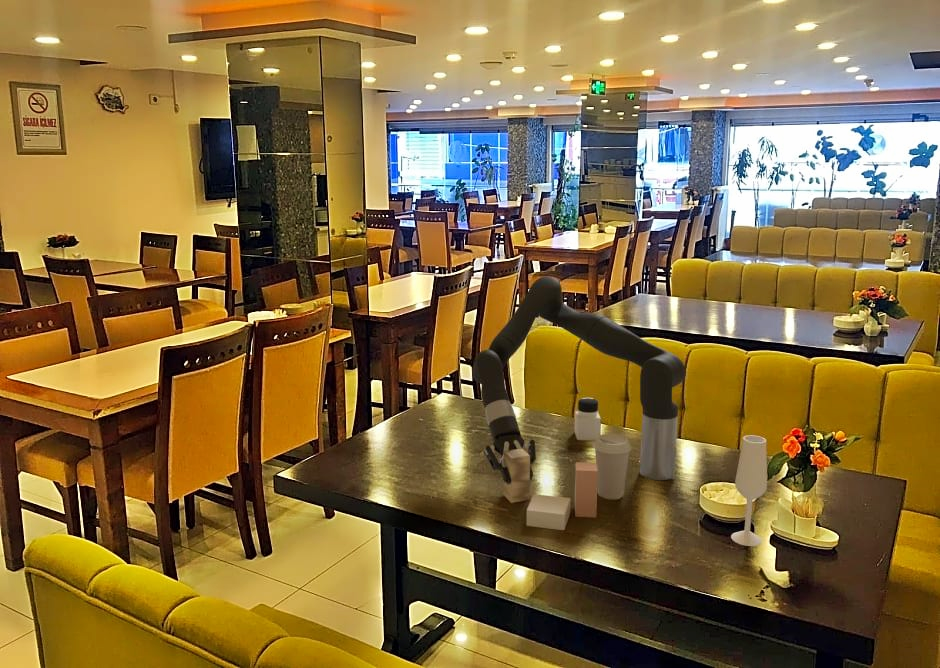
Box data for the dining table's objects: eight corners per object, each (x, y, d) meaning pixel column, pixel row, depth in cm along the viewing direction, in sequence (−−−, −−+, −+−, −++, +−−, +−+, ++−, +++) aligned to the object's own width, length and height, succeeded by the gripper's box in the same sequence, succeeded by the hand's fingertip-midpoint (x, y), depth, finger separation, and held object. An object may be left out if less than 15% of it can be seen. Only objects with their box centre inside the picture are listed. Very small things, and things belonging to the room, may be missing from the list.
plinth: (570, 513, 187) (570, 498, 186) (564, 530, 178) (564, 514, 177) (533, 509, 189) (533, 494, 188) (526, 525, 181) (526, 510, 180)
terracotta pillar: (594, 508, 189) (596, 462, 187) (596, 517, 185) (597, 471, 182) (574, 507, 190) (575, 462, 187) (575, 516, 185) (576, 470, 182)
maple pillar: (521, 491, 199) (522, 448, 196) (529, 499, 194) (530, 455, 192) (503, 494, 197) (504, 451, 194) (511, 502, 193) (511, 458, 190)
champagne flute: (745, 548, 169) (754, 446, 164) (724, 535, 175) (731, 436, 170) (768, 542, 172) (777, 441, 167) (747, 529, 178) (755, 431, 173)
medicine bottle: (600, 440, 234) (601, 403, 231) (577, 440, 234) (578, 403, 231) (597, 432, 241) (598, 395, 238) (574, 432, 241) (575, 395, 238)
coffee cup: (584, 490, 200) (586, 435, 196) (615, 483, 203) (617, 430, 200) (605, 504, 191) (607, 448, 188) (637, 498, 195) (639, 442, 191)
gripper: (523, 424, 206) (541, 483, 198) (472, 430, 202) (489, 491, 194) (531, 411, 200) (550, 471, 192) (479, 417, 196) (496, 479, 187)
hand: (519, 481), depth 193 cm, fingers closed on maple pillar, 5 cm apart
